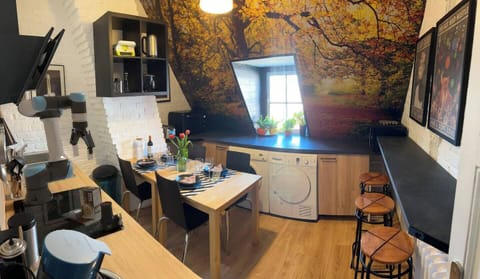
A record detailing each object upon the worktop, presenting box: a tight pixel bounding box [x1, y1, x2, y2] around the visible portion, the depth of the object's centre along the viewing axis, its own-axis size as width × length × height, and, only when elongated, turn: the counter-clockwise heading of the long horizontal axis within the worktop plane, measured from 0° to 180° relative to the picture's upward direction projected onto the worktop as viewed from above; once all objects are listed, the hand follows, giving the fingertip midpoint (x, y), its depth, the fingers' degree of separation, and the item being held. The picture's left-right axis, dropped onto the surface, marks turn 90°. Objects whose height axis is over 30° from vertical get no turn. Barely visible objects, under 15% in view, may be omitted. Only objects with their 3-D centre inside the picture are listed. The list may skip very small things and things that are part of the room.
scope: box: [98, 200, 124, 232], centre depth 151 cm, size 8×14×10 cm
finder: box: [68, 208, 82, 220], centre depth 164 cm, size 6×5×3 cm
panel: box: [61, 208, 101, 227], centre depth 165 cm, size 23×12×1 cm, turn 60°
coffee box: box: [78, 185, 103, 219], centre depth 163 cm, size 9×6×16 cm
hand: (83, 158), depth 169 cm, fingers open, 13 cm apart
